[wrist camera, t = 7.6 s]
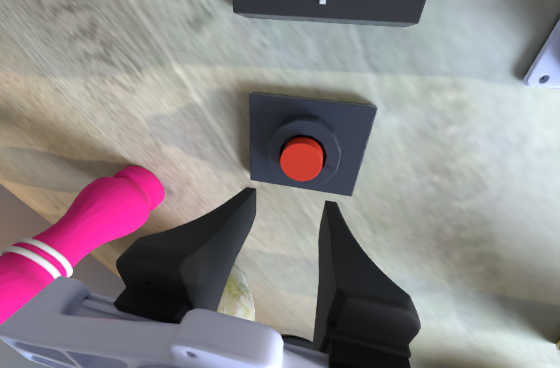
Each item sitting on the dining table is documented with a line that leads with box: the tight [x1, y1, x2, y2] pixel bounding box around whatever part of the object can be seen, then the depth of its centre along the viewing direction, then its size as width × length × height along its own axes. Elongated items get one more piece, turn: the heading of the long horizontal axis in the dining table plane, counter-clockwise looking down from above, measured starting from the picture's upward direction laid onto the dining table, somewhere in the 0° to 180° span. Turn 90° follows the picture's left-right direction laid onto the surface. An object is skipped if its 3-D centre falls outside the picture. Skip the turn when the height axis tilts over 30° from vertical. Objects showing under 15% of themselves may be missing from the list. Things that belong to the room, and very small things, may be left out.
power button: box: [280, 137, 323, 181], centre depth 19 cm, size 4×4×2 cm
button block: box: [250, 92, 377, 196], centre depth 21 cm, size 11×9×3 cm
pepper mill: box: [0, 166, 165, 325], centre depth 22 cm, size 7×7×20 cm
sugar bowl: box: [217, 265, 255, 321], centre depth 31 cm, size 20×15×15 cm
